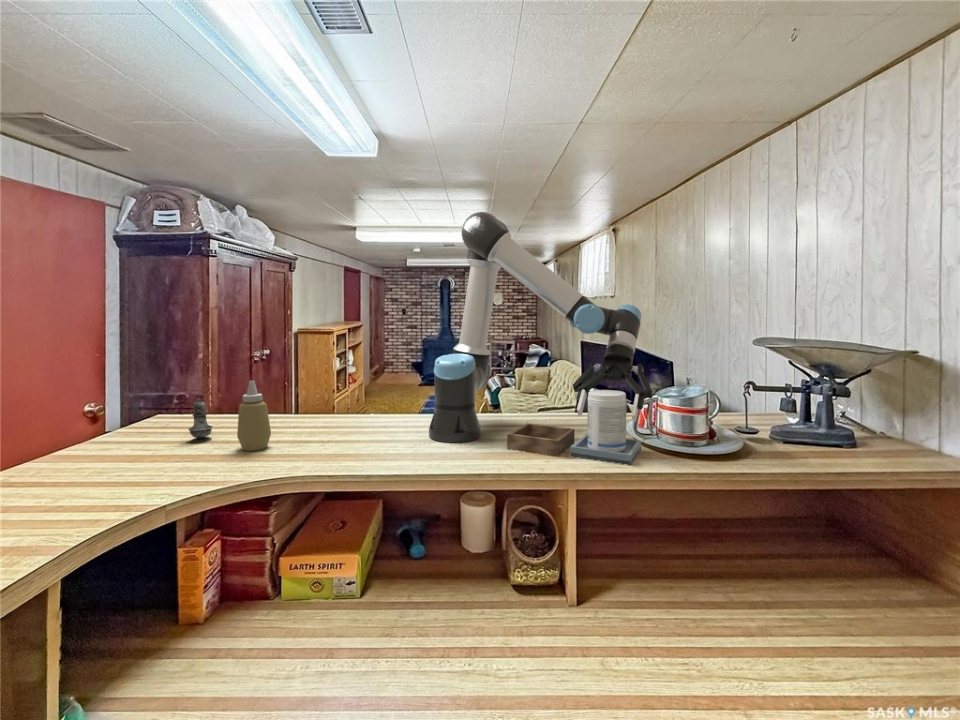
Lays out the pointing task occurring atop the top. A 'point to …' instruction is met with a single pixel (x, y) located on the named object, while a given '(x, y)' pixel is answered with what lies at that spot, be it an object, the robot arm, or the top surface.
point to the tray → (622, 457)
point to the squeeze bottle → (253, 421)
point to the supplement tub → (607, 420)
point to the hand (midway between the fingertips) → (605, 415)
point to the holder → (541, 439)
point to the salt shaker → (200, 424)
